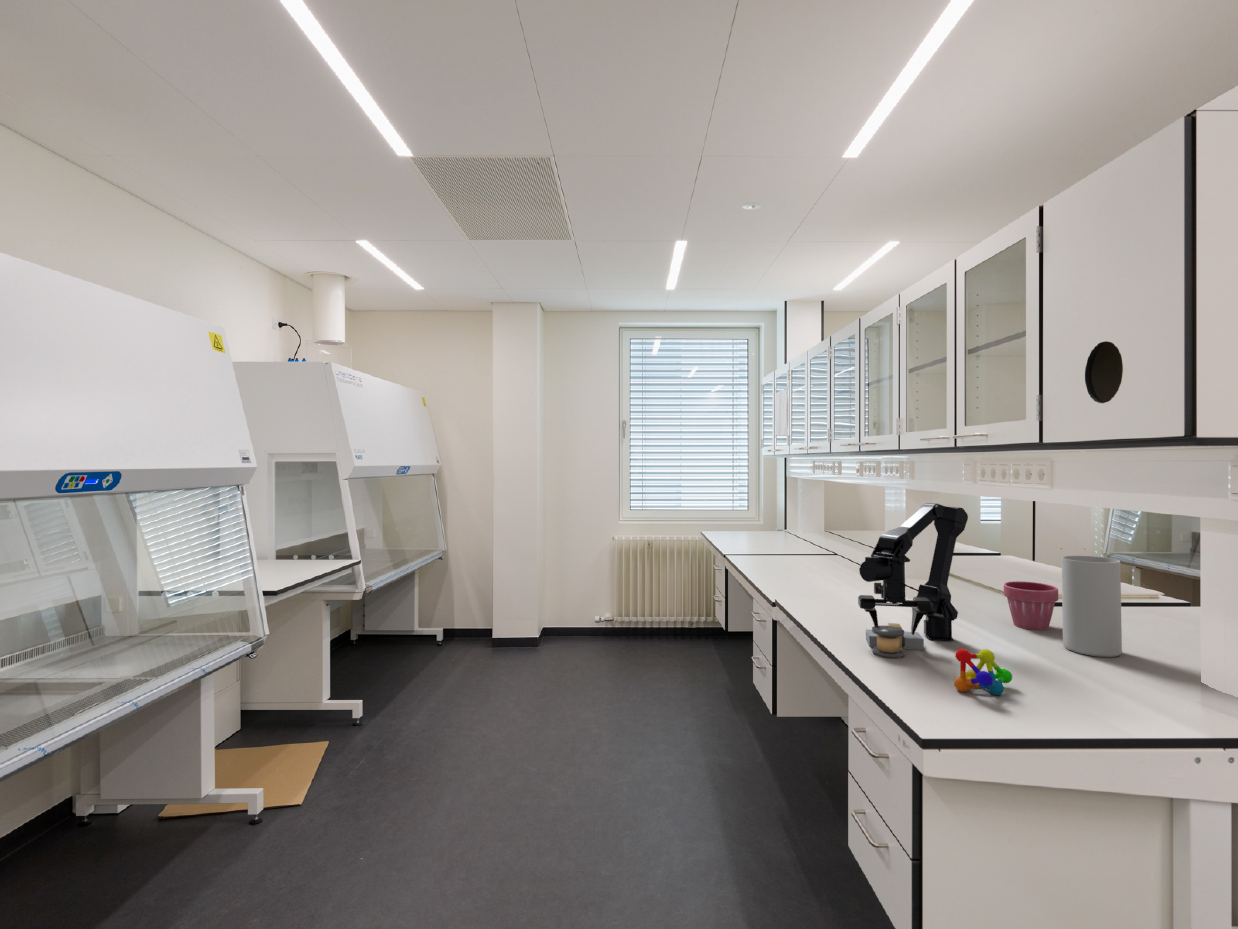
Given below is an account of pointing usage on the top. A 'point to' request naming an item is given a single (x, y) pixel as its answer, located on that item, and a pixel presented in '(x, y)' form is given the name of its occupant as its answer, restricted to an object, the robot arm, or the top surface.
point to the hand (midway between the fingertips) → (894, 633)
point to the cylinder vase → (1092, 605)
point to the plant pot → (1031, 603)
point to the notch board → (907, 640)
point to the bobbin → (888, 642)
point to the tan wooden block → (899, 636)
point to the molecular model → (980, 672)
